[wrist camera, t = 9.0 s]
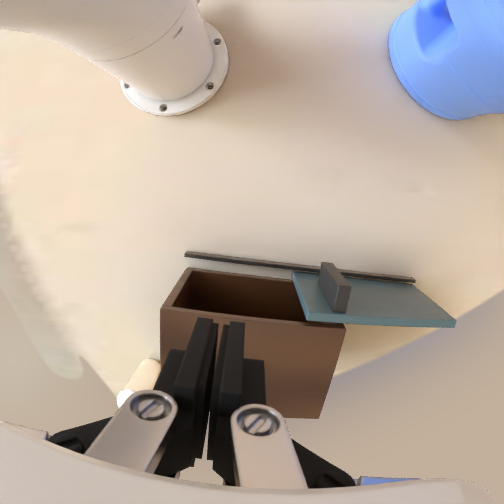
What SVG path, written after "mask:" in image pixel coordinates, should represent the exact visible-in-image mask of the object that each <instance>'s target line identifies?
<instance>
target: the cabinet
mask: <svg viewBox="0 0 504 504" xmlns="http://www.w3.org/2000/svg"><path fill="white" fill-rule="evenodd" d="M185 257H191V258H199V259H207V260H215V261H223V262H232V263H240V264H248V265H257V266H265V267H274V268H283V269H291V270H300V271H309V272H318V273H320V268H321V267H315V266H306V265H297V264H289V263H280V262H272V261H263V260H255V259H246V258H238V257H230V256H221V255H213V254H205V253H196V252H188V251H186V253H185ZM338 271H339V272H340V273H341V274H342V275H345V276H354V277H364V278H373V279H382V280H392V281H402V282H411V283H415V281H416V280H415V279H414V278H412V277H403V276H394V275H385V274H376V273H367V272H358V271H349V270H341V269H338ZM198 317H204V318H211V319H213V323H219V329H218V340H217V352H216V363H217V357H218V352H219V346H220V341H221V335H222V330H223V325H224V324H227V325H230V321H236V322H244V323H245V340H244V358H249V359H259V360H264V368H265V387H266V406H269V407H271V408H273V409H275V410H277V411H278V412H279V413H280V414H281V415H282V416H283V418H309V419H311V418H312V419H313V418H314V419H318V418H319V416H320V413H321V410H322V407H323V404H324V401H325V398H326V395H327V392H328V389H329V386H330V383H331V380H332V377H333V373H334V370H335V367H336V363H337V360H338V357H339V353H340V350H341V346H342V343H343V339H344V335H345V332H346V328H345V326H344V324H343V323H333V322H320V321H308V320H306V317H305V314H304V311H303V308H302V305H301V303H300V300H299V297H298V294H297V291H296V288H295V285H294V282H293V280H288V279H279V278H270V277H261V276H253V275H244V274H236V273H227V272H219V271H211V270H203V269H195V268H186V270H185V271H184V273H183V274H182V276H181V278H180V279H179V281H178V282H177V284H176V285H175V287H174V288H173V290H172V291H171V293H170V294H169V296H168V298H167V299H166V301H165V302H164V304H163V305H162V307H161V309H160V362H161V369H162V367H163V364H164V362H165V360H166V357H167V355H168V353H169V351H170V349H171V348H173V349H180V350H186V348H187V346H188V343H189V340H190V337H191V334H192V332H193V329H194V326H195V323H196V321H197V318H198ZM216 363H215V368H216Z"/></svg>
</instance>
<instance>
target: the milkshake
mask: <svg viewBox="0 0 504 504" xmlns="http://www.w3.org/2000/svg"><path fill="white" fill-rule="evenodd" d="M160 371H161V364H160V363H159V362H157V361H156V360H153V359H146V360H144V361H142V363H141V364H140V365H139V367H138V368H137V370H136V371H135V373H134V374H133V376H132V377H131V378H130V380H129V381H128V383H127V384H126V385H125V387H124V388H123V389H122V391H121V392H120V393H119V395H118V398H117V403H118V406H119V408H120V407H121V406H122V404H123V403H124V402H125V400H126V399H127V398H128V397H129V396H130V395H131V394H133V393H135V392H137V391H142V390H153V388H154V385H155V383H156V381H157V378H158V376H159V374H160Z"/></svg>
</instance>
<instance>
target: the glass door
mask: <svg viewBox="0 0 504 504" xmlns="http://www.w3.org/2000/svg"><path fill="white" fill-rule="evenodd" d="M292 280H293V282H294V285H295V288H296V291H297V294H298V297H299V300H300V303H301V305H302V308H303V311H304V314H305V317H306V320H308V321H320V322H333V323H347V324H364V325H382V326H406V327H445V328H454V327H455V324H456V320H455V319H454V318H453V317H452V316H450V315H449V314H448V313H447V312H446V311H444V310H443V309H442V308H441V307H440V306H438V305H437V304H436V303H435V302H433V301H432V300H431V299H430V298H429V297H427V296H426V295H425V294H424V293H422V292H421V291H420V290H419V289H417V288H416V287H415V286H413V285H412V284H404V283H395V282H385V281H375V280H366V279H356V278H347V277H343V275H342V274H341V273H340V272H339V271H338V269H337V268H336V267H335V266H334V264H333V263H327V262H322V263H321V268H320V273H319V274H310V273H301V272H293V274H292Z"/></svg>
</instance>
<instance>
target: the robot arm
mask: <svg viewBox="0 0 504 504" xmlns="http://www.w3.org/2000/svg"><path fill="white" fill-rule="evenodd" d="M199 1H200V0H0V30H9V31H17V32H25V33H30V34H35V35H38V36H41V37H45V38H47V39H50V40H52V41H54V42H57V43H59V44H61V45H63V46H64V47H66V48H68V49H70V50H72V51H74V52H75V53H77V54H79V55H81V56H82V57H84V58H86V59H87V60H89V61H91V62H92V63H94V64H96V65H97V66H99V67H101V68H102V69H104V70H105V71H107V72H109V73H110V74H112V75H114V76H115V77H117V78H118V79H120V84H121V87H122V90H123V92H124V94H125V95H126V97H127V98H128V99H129V101H130V102H131V103H132V104H133V105H135V106H136V107H138V108H139V109H141V110H143V111H145V112H147V113H150V114H154V115H159V116H173V115H179V114H183V113H187V112H189V111H192V110H194V109H196V108H198V107H199V106H201V105H202V104H204V103H205V102H207V101H208V100H209V99H210V98H211V97H212V96H213V95H214V94H215V93H216V92H217V90H218V89H219V88H220V86H221V85H222V83H223V81H224V79H225V77H226V73H227V70H228V62H229V56H228V50H227V46H226V43H225V41H224V39H223V37H222V35H221V34H220V33H219V32H218V31H217V29H216V28H215V27H213V26H212V25H210V24H209V23H207V22H205V21H203V20H202V17H201V14H200V12H199V9H198V6H197V5H198V3H199ZM217 43H220V44H219V45H216V44H217ZM129 86H130V87H129ZM210 86H213V88H212V89H209V87H210ZM165 107H167V110H166V111H164V110H163V109H164V108H165ZM218 329H219V323H213V319H211V318H204V317H198V318H197V321H196V323H195V326H194V329H193V332H192V334H191V337H190V340H189V343H188V346H187V348H186V350H180V349H173V348H171V349H170V351H169V353H168V355H167V357H166V360H165V362H164V364H163V367H162V369H161V371H160V374H159V376H158V378H157V381H156V383H155V385H154V388H153V390H142V391H137V392H135V393H133V394H131V395H130V396H129V397H128V398H127V399H126V400H125V402H124V403H123V404H122V406H121V407H120V408H119V409H118V411H117V412H116V413H115V415H114V416H113V417H110V418H106V419H103V420H100V421H96V422H93V423H90V424H86V425H83V426H79V427H75V428H72V429H68V430H64V431H61V432H58V433H56V434H54V435H53V436H49V434H48V432H47V431H42V430H37V429H33V428H28V427H24V426H20V425H15V424H12V423H8V422H4V421H0V504H498V503H497V501H496V500H495V499H494V497H493V496H492V495H491V494H490V493H489V492H488V491H487V490H486V489H485V488H483V487H482V486H480V485H478V484H476V483H473V482H470V481H465V480H458V479H457V480H456V479H445V478H441V479H440V478H437V479H418V478H383V477H367V476H360V478H359V479H352V477H351V476H349V475H348V474H347V473H346V472H344V471H343V470H341V469H339V468H337V467H336V466H334V465H332V464H330V463H329V462H327V461H326V460H324V459H322V458H320V457H319V456H317V455H316V454H314V453H313V452H311V451H309V450H308V449H306V448H305V447H303V446H301V445H300V444H299V443H297V442H296V441H294V440H293V439H291V437H290V434H289V431H288V428H287V425H286V422H285V420H284V418H283V416H282V415H281V414H280V413H279V412H278V411H277V410H275V409H273V408H271V407H269V406H266V387H265V368H264V360H259V359H249V358H244V340H245V323H244V322H236V321H230V325H227V324H224V325H223V330H222V335H221V341H220V346H219V352H218V357H217V363H216V352H217V340H218ZM215 363H216V368H215ZM209 412H210V417H209ZM208 417H209V434H208V450H207V460H213V470H214V471H215V472H216V473H217V474H219V475H220V476H221V477H222V478H223V485H216V484H207V483H200V482H193V481H187V480H181V479H179V477H180V471H181V470H183V469H186V468H188V467H190V466H191V467H194V462H195V458H199V459H201V458H202V454H203V447H204V442H205V436H206V429H207V423H208Z"/></svg>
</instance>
